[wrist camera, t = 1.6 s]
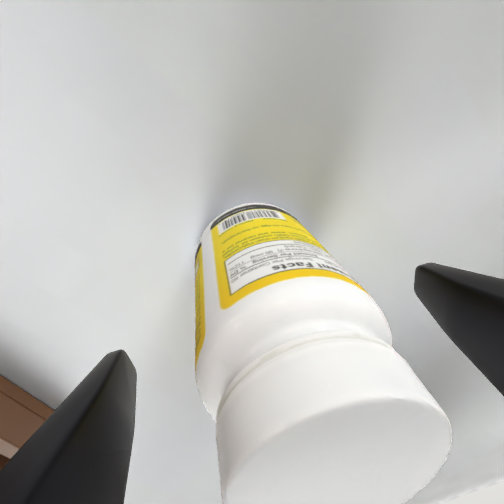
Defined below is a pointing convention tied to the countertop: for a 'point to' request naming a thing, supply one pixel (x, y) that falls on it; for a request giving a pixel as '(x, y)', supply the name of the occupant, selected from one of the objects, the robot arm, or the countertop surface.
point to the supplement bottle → (304, 373)
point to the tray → (18, 418)
